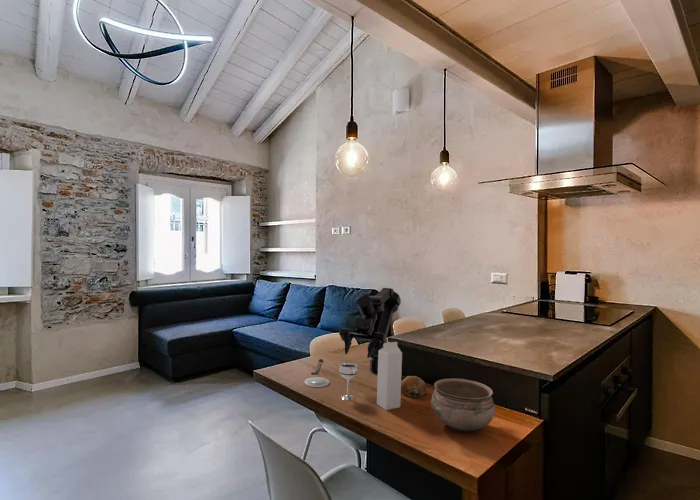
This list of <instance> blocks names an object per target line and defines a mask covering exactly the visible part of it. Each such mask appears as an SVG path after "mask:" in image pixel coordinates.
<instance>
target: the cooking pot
mask: <svg viewBox="0 0 700 500" xmlns="http://www.w3.org/2000/svg"><path fill="white" fill-rule="evenodd" d="M433 387H434V390H433V393H432V396H431V400H430V406H431V408H432V411H433V414H434V415H435V416H436V418H437V419H438V420H439V421H440V422H442V423H443V424H445V425H446V426H448V427H449V428H451V430H454V431H456V432H459V431H460V433H471V432H472V431H476V430H477V431H478V430H480V429H482V428H485V427H486V426H488V425H489V424H490V423H491V422H492V420H493V419H494V416H495V412H496V411H495V410H496V409H495V403H494V400H493V396H492V395H493V394H494V392H493V389H492V388H490V386H487V385H486V384H483V383H481V382H478V381H475V380H470V379H466V378H465V379H464V378H441V379H438V380H437V381H435V382H434V383H433Z"/></svg>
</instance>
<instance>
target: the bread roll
mask: <svg viewBox="0 0 700 500" xmlns="http://www.w3.org/2000/svg"><path fill="white" fill-rule="evenodd" d="M425 394H427V385H426V382H425V381H424V380H423V379H422V378H421V377H418V376H417V375H412V376H411V375H407V376H406V377H405V378H404V379H403V380H401V395H402V396H405V397H409V398H420V397H423V396H425Z"/></svg>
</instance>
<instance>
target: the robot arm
mask: <svg viewBox="0 0 700 500" xmlns="http://www.w3.org/2000/svg"><path fill="white" fill-rule="evenodd" d="M401 299H402V298H401V297H400V294H399V293H397V292H396V291H394V289H393V288H392V287H382V289H381V290H380V291H379V292H378V293H376V294H375V295H370V294H367V293H364V294H363V296H361V297H359V298H358V299H357V301H356V304H357V306H358V307H357V308H358V309H359V313H360V314H361V316H362V317H361V318H359V317H358V318H357V317H355V318H354V321H353V326H352V327H353V328H355V329H354V331H355V332H352V331H351V329H350V328H345V327H344V328H343V327H342V328H340V329H339V331H338V334H339V336H340V339H341V341H343V342H344V354H345V356H347V355H348V353H349V350H350V348H351V345H352V342H353V341H352V340H353V339H356V340H357V339H358V340H365V341H369V343H368V345H367V356H366V357H367V359H369V358H371V359H370V360H369V371H370V372H372V373H373V374H374V375H375V374H377V375H378V351H379V350H380V349H382V348H383V344H384V343H388V340H387V337H388V333H389V330H390V326H391V323H392V318H393V315H394V314H395V313H396V311H398V310H399V307H400V306H401V304H402V303H401ZM382 310H383V311H382ZM381 311H382V314H381V318H380V321H379V324H378V328H377V332H376V331H375V332H374V330H375V327H374V326H375V324H376V321H378V313H377V312H381ZM372 333H373V334H372Z"/></svg>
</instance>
